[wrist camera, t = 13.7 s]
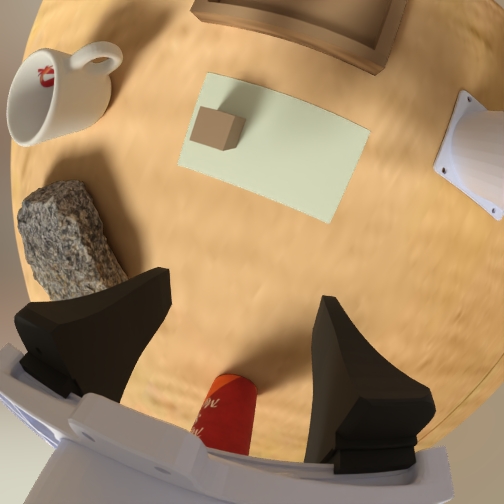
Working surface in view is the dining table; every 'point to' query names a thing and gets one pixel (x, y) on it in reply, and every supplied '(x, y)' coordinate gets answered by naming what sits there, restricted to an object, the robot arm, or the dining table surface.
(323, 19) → the wooden tray
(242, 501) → the robot arm
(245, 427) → the paper cup
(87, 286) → the rock
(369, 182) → the dining table surface
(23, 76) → the cup
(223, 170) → the lid
